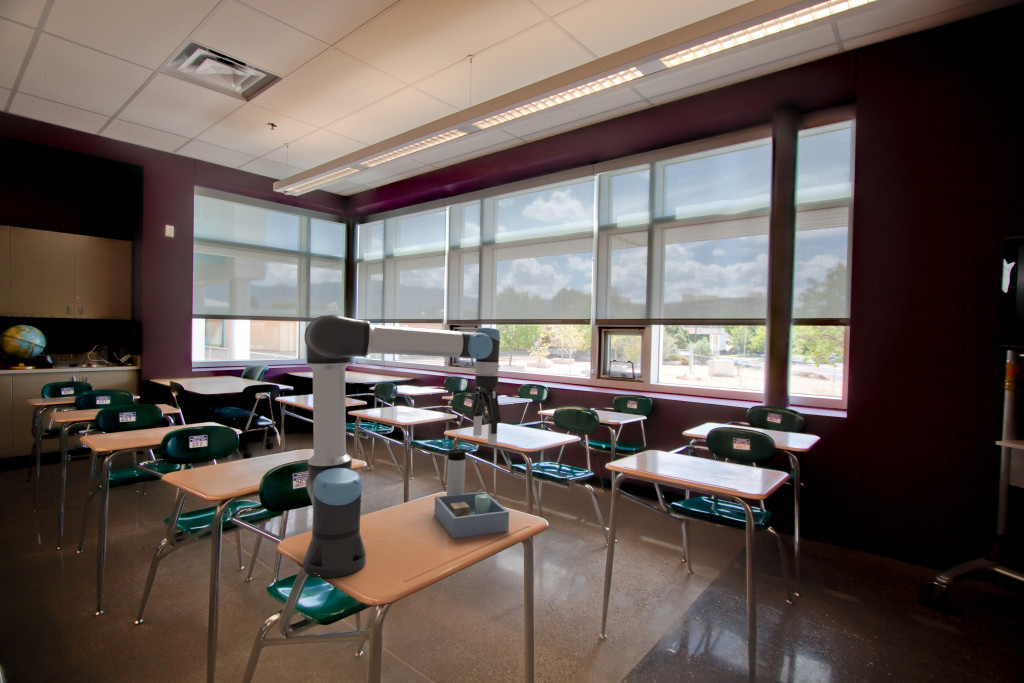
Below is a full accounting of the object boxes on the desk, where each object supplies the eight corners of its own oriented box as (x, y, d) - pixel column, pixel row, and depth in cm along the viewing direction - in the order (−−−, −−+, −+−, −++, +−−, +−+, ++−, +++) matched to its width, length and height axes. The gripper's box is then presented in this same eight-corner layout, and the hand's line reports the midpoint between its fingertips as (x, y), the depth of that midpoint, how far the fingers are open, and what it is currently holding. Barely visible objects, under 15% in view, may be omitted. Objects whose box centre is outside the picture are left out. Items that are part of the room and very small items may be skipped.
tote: (453, 538, 145) (453, 518, 145) (434, 514, 164) (434, 496, 164) (508, 530, 153) (509, 511, 153) (484, 508, 172) (484, 491, 172)
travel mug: (463, 508, 171) (465, 451, 171) (444, 507, 171) (446, 450, 171) (465, 502, 177) (467, 447, 177) (447, 501, 177) (449, 446, 177)
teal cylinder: (481, 521, 157) (482, 500, 157) (471, 517, 160) (472, 496, 160) (492, 518, 160) (493, 496, 160) (482, 513, 164) (483, 493, 164)
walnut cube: (454, 524, 154) (454, 508, 154) (449, 518, 158) (449, 503, 158) (469, 522, 156) (469, 506, 156) (464, 517, 160) (464, 501, 160)
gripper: (513, 378, 150) (510, 447, 150) (483, 371, 173) (481, 431, 173) (490, 378, 147) (487, 448, 147) (463, 371, 170) (461, 432, 170)
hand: (484, 439), depth 160 cm, fingers open, 13 cm apart
